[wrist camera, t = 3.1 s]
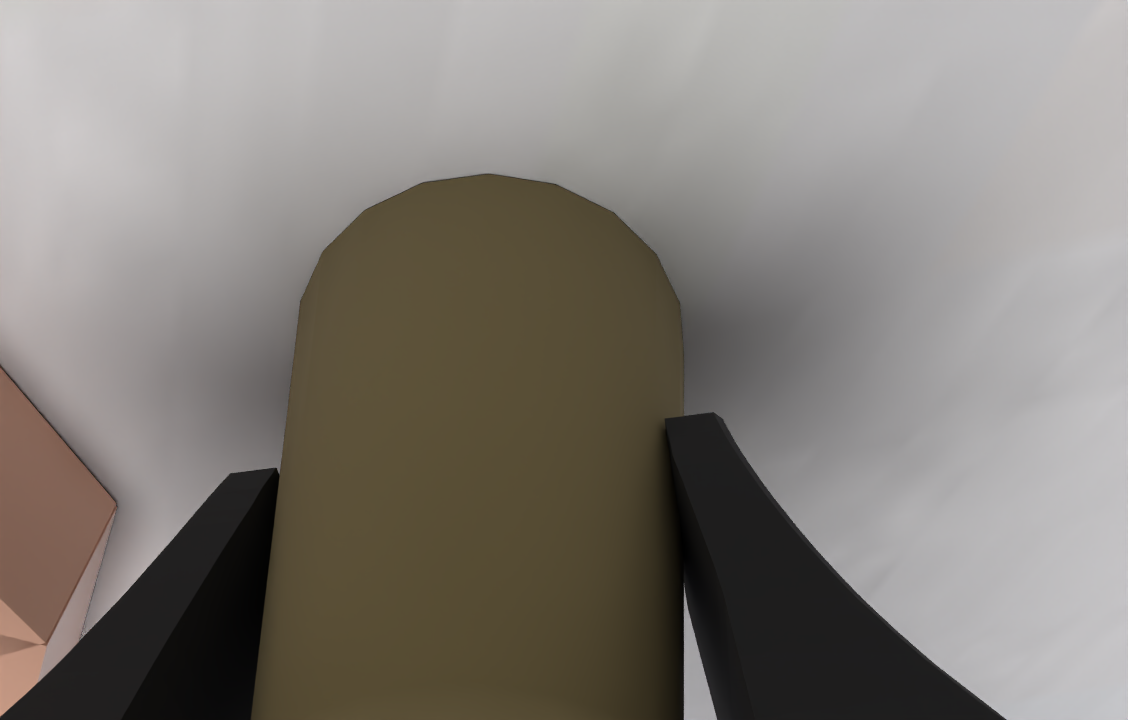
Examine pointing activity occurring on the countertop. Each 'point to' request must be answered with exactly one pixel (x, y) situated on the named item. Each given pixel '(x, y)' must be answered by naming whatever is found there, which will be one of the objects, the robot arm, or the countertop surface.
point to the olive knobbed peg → (479, 469)
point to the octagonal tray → (43, 544)
